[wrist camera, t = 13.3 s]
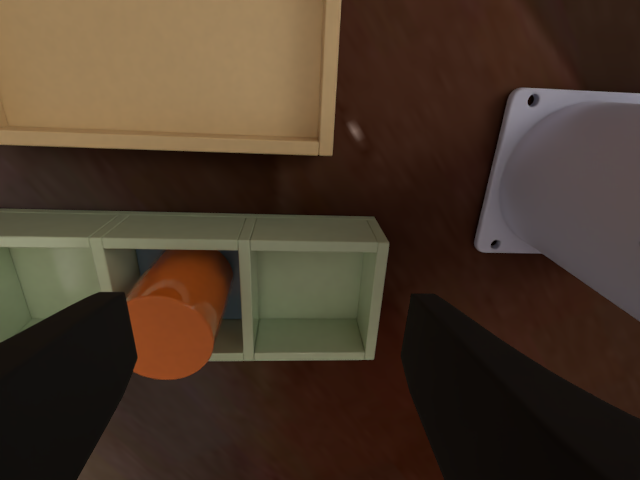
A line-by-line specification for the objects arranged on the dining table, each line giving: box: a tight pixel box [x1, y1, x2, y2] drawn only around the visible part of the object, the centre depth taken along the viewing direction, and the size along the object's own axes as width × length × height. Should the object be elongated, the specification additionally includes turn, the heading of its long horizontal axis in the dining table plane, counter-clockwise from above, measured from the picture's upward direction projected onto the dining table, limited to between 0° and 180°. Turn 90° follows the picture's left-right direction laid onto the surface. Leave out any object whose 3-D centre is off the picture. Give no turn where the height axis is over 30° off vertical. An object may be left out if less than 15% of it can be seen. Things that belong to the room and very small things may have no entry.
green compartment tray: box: [0, 209, 390, 361], centre depth 17 cm, size 18×6×3 cm, turn 87°
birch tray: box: [0, 0, 342, 156], centre depth 13 cm, size 14×11×2 cm
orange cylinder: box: [126, 249, 234, 380], centre depth 16 cm, size 4×4×5 cm
